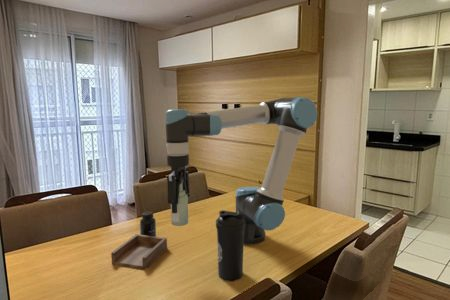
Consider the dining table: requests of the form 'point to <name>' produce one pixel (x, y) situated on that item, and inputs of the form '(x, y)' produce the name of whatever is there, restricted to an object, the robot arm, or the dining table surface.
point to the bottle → (182, 207)
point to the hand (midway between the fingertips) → (179, 217)
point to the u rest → (139, 251)
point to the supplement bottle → (148, 224)
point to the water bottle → (230, 244)
